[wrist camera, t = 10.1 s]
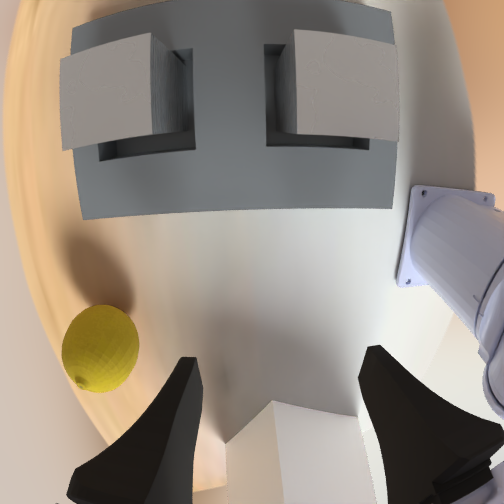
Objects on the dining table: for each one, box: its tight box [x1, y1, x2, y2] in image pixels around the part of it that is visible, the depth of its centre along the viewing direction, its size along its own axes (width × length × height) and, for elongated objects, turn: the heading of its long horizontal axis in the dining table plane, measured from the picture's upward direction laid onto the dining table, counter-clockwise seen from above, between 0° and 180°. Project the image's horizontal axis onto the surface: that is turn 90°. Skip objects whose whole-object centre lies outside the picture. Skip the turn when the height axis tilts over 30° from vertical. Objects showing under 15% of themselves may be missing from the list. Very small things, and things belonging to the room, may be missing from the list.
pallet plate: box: [71, 0, 397, 220], centre depth 14 cm, size 18×12×3 cm, turn 91°
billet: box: [274, 29, 399, 142], centre depth 12 cm, size 4×4×7 cm
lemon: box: [62, 305, 139, 393], centre depth 18 cm, size 6×6×8 cm
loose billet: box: [60, 33, 189, 151], centre depth 11 cm, size 4×4×7 cm
